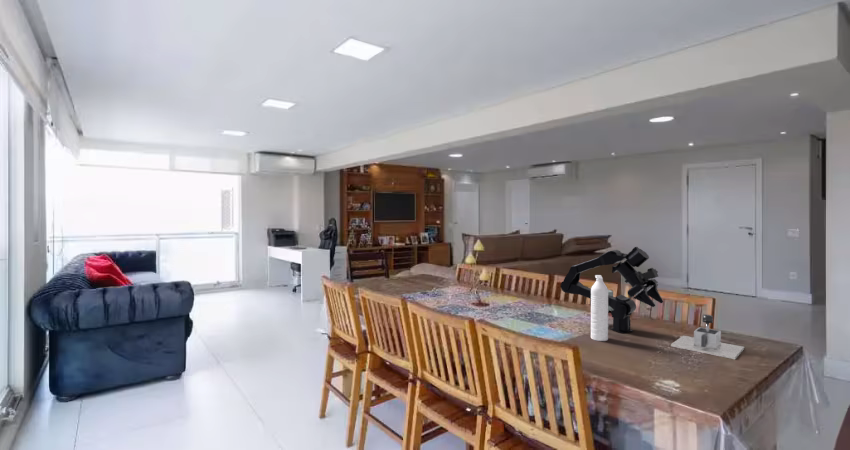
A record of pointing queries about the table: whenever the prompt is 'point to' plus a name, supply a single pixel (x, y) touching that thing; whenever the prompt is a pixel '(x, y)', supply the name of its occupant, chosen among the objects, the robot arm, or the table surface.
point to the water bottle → (599, 310)
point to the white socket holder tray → (708, 344)
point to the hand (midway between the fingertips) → (658, 304)
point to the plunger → (707, 321)
